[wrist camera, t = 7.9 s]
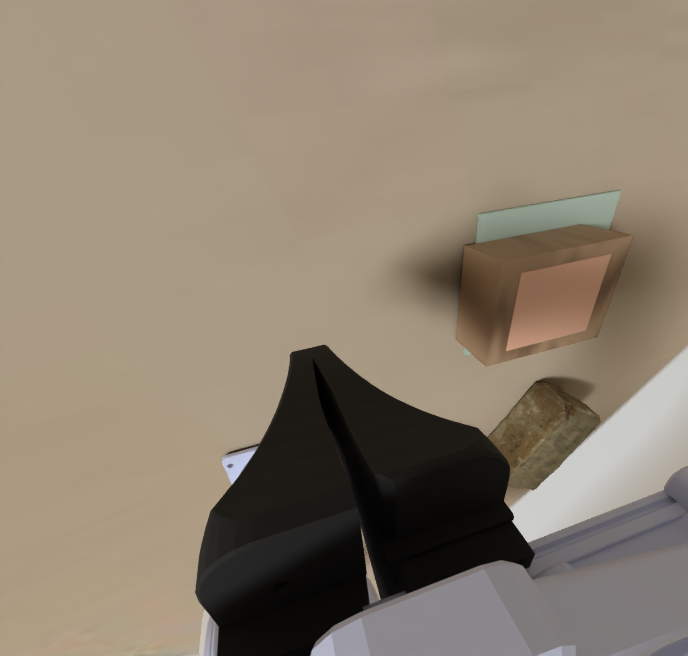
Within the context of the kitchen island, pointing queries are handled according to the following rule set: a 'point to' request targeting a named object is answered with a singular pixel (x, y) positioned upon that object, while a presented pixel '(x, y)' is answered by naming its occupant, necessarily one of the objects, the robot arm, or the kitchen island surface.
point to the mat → (547, 217)
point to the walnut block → (537, 290)
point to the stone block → (542, 433)
